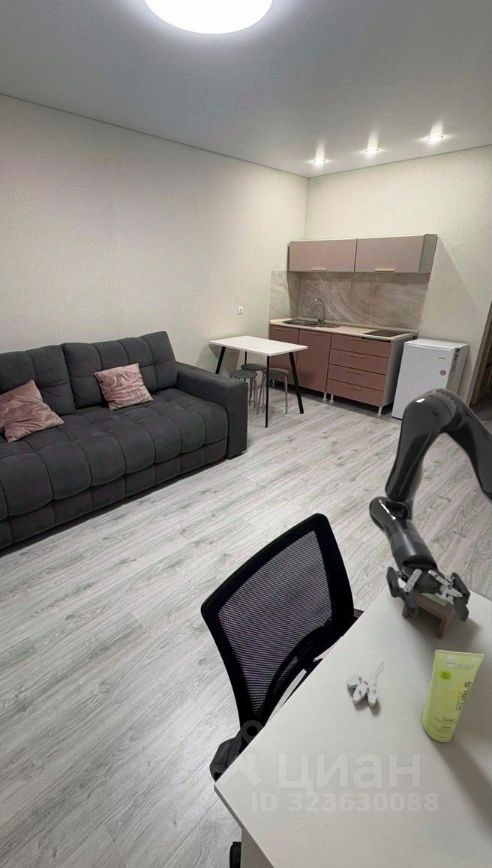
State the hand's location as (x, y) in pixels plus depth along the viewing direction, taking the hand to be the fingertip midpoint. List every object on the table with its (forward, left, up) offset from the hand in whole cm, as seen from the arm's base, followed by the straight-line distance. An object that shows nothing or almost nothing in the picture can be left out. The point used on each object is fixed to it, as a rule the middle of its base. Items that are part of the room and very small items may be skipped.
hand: (440, 615), depth 73 cm
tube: (+6, +5, -19) cm, 20 cm away
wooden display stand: (-20, -6, -19) cm, 28 cm away
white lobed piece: (+7, -7, -19) cm, 21 cm away
